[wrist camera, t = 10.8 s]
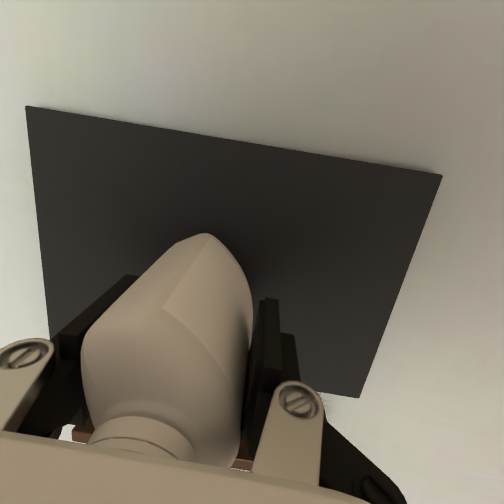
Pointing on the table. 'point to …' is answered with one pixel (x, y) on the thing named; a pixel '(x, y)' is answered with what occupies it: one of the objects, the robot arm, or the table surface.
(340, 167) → the rubber mat
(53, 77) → the table surface
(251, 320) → the eye dropper bottle
